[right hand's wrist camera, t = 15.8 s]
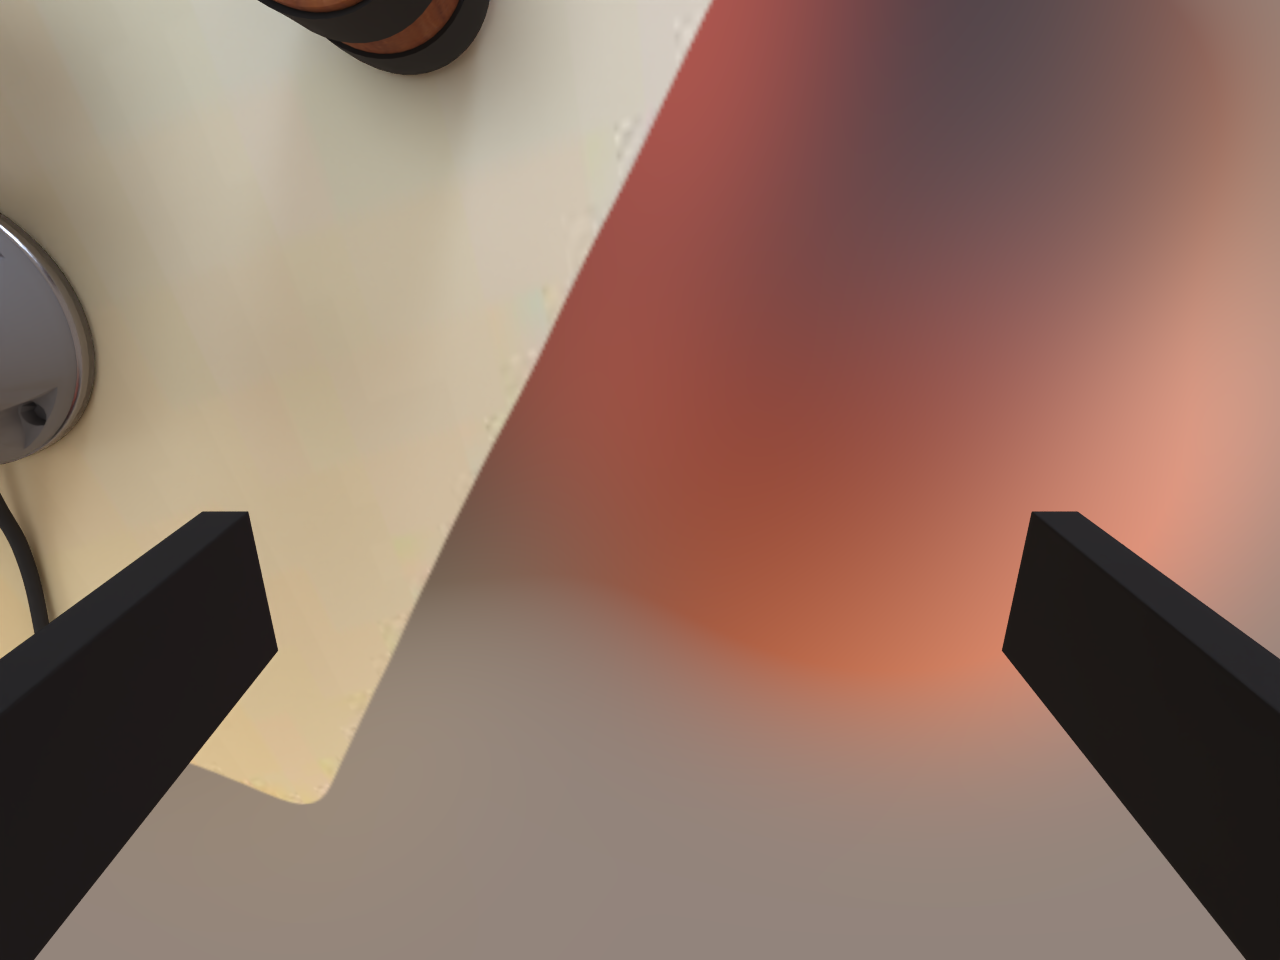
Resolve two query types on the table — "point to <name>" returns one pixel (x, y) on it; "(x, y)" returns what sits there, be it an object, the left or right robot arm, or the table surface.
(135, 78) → the table surface
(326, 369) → the table surface
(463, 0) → the mug
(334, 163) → the table surface
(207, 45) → the table surface
